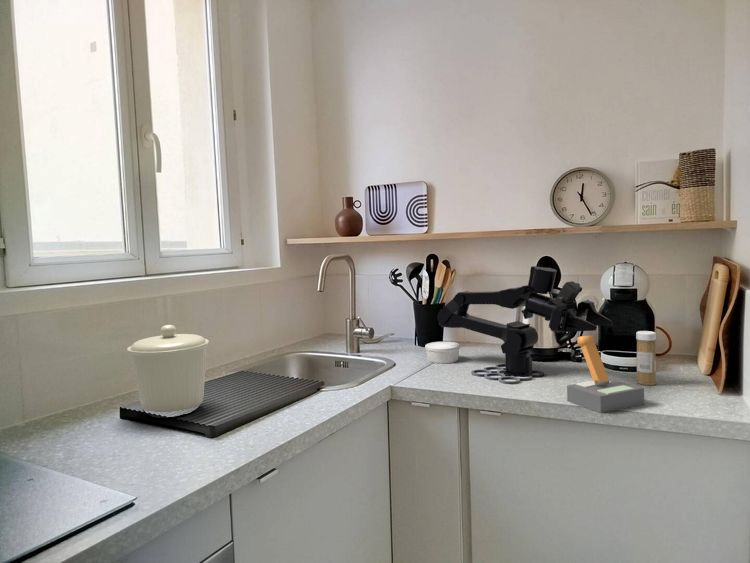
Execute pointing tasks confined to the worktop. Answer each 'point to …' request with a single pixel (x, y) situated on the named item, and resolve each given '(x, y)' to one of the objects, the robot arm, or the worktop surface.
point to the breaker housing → (605, 395)
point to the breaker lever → (593, 360)
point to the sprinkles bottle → (646, 357)
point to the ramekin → (442, 352)
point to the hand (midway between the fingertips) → (604, 325)
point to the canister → (169, 370)
